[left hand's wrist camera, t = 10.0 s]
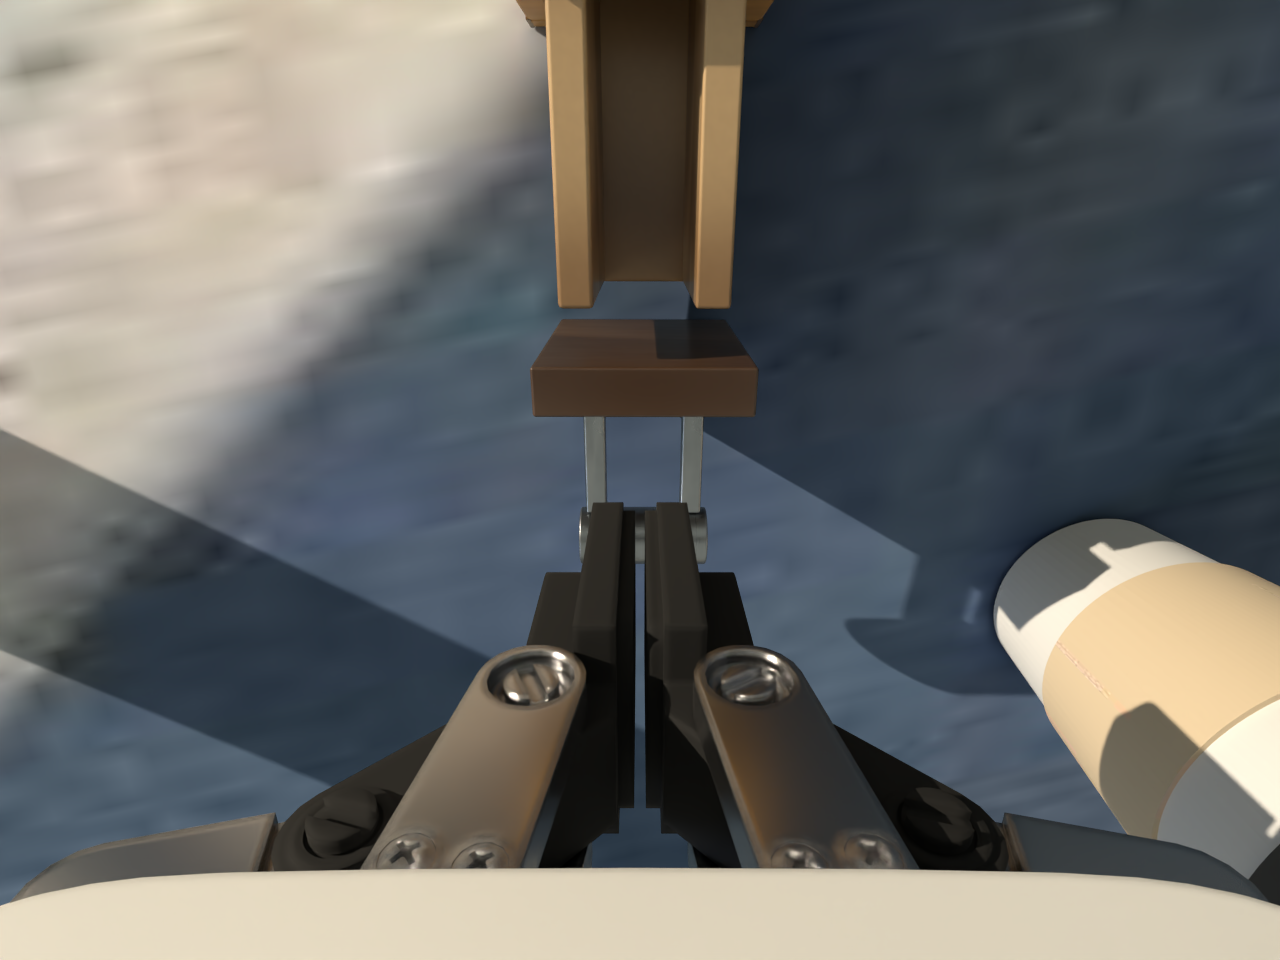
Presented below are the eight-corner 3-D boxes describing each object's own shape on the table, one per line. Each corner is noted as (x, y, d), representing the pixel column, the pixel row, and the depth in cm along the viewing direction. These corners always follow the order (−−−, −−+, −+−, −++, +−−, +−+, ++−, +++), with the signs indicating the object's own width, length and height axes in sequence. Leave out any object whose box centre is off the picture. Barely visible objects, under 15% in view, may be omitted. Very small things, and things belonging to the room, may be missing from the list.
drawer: (716, 513, 24) (741, 619, 18) (569, 512, 24) (545, 619, 18) (761, -410, 15) (841, -812, 9) (529, -411, 15) (456, -813, 9)
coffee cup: (1245, 614, 26) (1937, 1067, 12) (1032, 733, 28) (1418, 1236, 14) (1145, 441, 24) (1872, 760, 10) (920, 584, 26) (1254, 1020, 12)
